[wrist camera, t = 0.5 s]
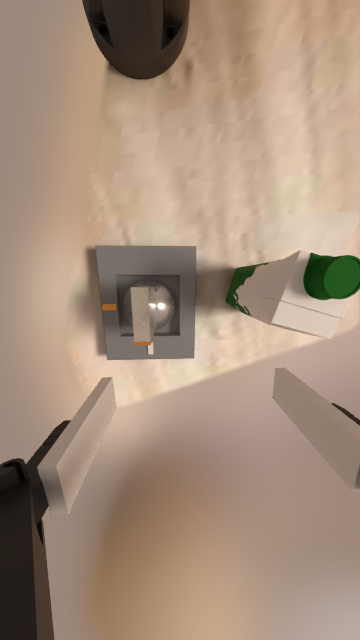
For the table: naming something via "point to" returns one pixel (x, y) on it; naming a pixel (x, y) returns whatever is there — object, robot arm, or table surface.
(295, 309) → the milk carton
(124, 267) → the panel
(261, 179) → the table surface
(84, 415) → the robot arm
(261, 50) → the table surface
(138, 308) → the dial
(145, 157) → the table surface
